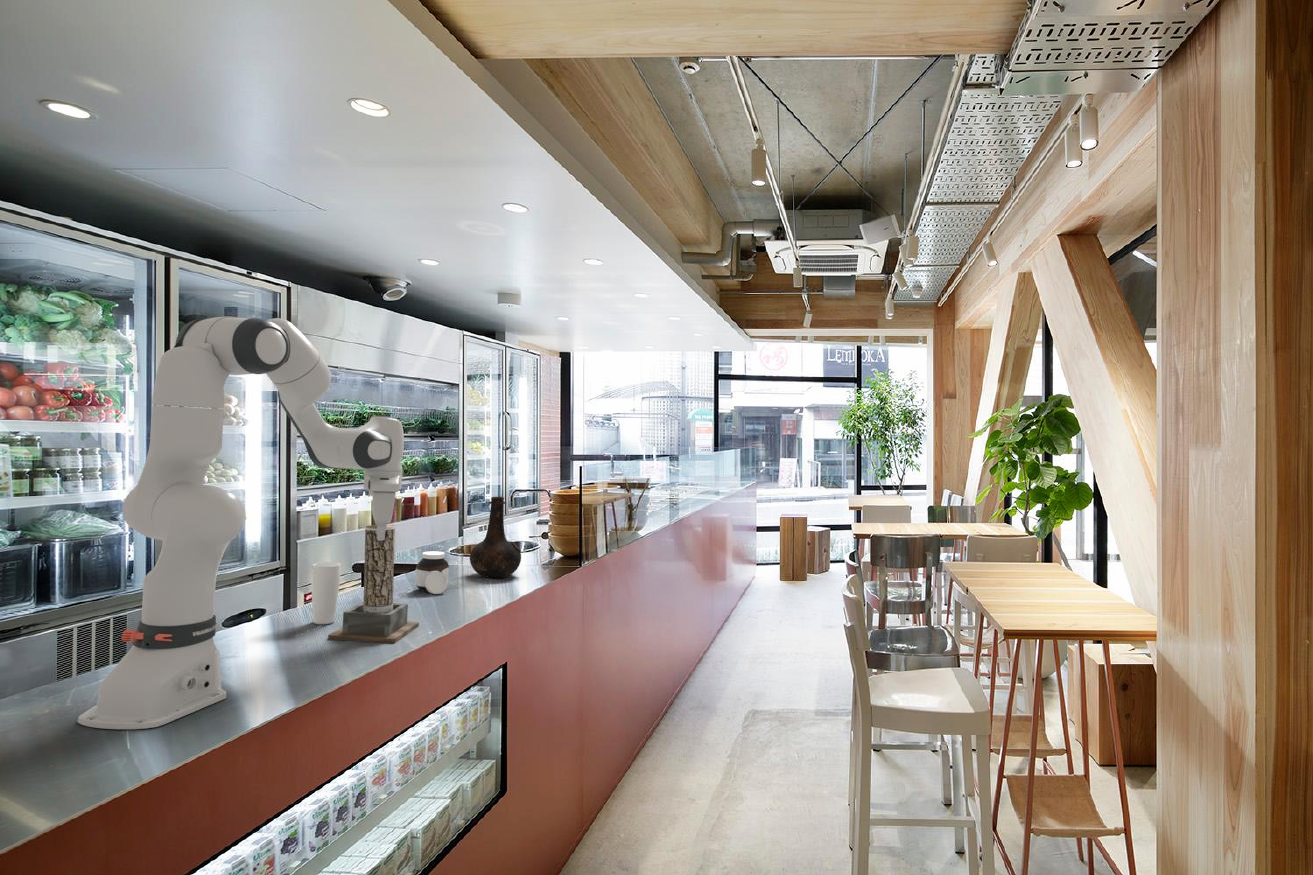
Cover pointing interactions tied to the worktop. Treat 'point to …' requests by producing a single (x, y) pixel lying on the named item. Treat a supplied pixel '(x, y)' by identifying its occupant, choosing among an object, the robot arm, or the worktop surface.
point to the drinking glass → (325, 591)
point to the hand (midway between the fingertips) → (379, 537)
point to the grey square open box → (374, 625)
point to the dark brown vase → (495, 547)
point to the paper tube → (379, 570)
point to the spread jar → (432, 572)
